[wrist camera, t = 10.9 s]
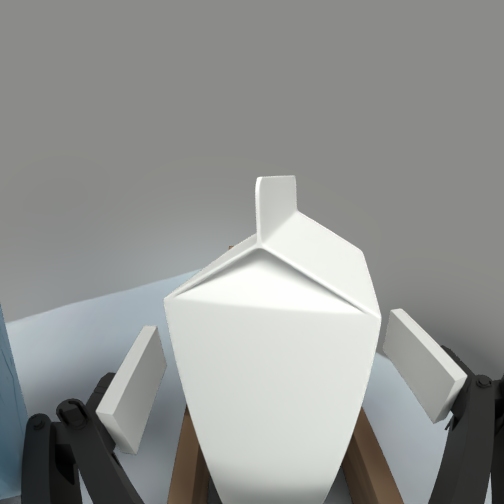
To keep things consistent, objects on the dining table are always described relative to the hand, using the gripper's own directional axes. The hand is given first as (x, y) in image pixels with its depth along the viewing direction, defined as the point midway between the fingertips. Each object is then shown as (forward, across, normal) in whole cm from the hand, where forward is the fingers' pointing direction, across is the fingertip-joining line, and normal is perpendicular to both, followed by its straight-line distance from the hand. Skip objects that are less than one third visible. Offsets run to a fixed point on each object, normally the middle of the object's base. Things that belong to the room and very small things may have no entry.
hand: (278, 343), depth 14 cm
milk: (-3, 0, -14) cm, 14 cm away
